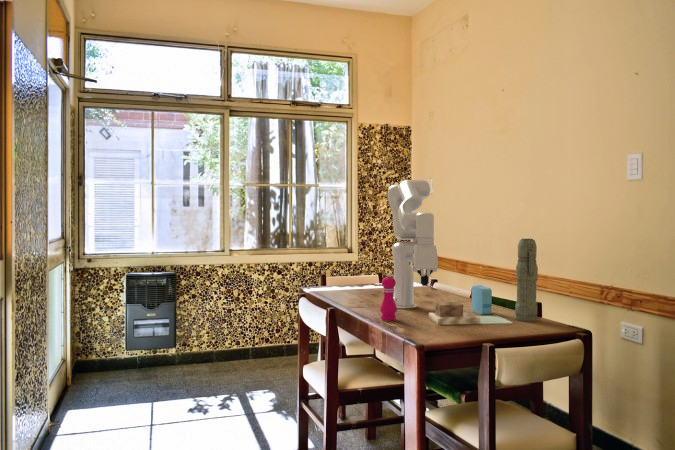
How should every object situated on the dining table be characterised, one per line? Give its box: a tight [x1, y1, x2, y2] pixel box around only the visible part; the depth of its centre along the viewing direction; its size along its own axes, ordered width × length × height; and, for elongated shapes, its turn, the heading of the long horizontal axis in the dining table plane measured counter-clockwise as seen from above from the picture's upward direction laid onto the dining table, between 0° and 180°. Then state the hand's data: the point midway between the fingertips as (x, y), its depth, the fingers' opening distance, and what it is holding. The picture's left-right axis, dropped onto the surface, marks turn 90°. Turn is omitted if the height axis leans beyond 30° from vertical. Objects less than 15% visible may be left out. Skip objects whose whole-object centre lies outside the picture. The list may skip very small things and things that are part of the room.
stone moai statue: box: [514, 238, 539, 323], centre depth 235 cm, size 9×12×35 cm
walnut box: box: [434, 301, 464, 317], centre depth 232 cm, size 10×6×5 cm, turn 97°
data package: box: [471, 285, 493, 316], centre depth 251 cm, size 12×4×12 cm, turn 10°
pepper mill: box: [379, 272, 398, 322], centre depth 235 cm, size 7×7×20 cm
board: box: [428, 311, 481, 326], centre depth 232 cm, size 18×13×2 cm
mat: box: [476, 315, 514, 325], centre depth 234 cm, size 14×15×1 cm
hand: (424, 285), depth 230 cm, fingers closed
